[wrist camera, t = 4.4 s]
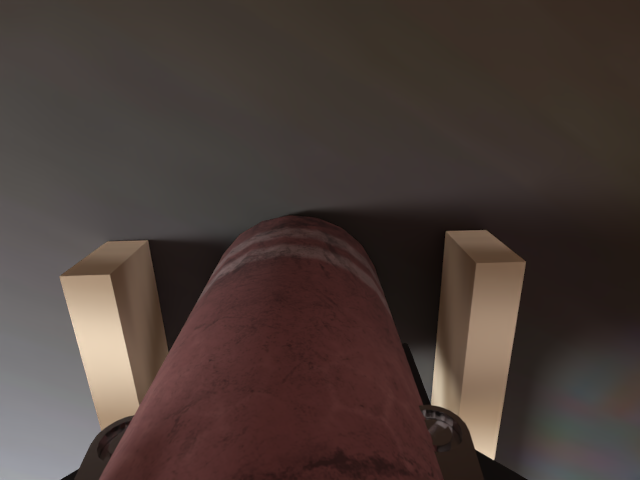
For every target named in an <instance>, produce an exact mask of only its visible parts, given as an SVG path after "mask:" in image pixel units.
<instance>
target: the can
mask: <svg viewBox="0 0 640 480" xmlns="http://www.w3.org/2000/svg"><path fill="white" fill-rule="evenodd" d="M419 405H423V403H422V400H421V397H420V395H419V392H418V389H417V386H416V383H415V380H414V378H413V375H412V372H411V369H410V366H409V363H408V361H407V358H406V355H405V352H404V349H403V346H402V344H401V341H400V338H399V335H398V332H397V329H396V326H395V324H394V321H393V318H392V315H391V312H390V309H389V307H388V304H387V301H386V298H385V295H384V292H383V290H382V287H381V284H380V281H379V278H378V275H377V273H376V270H375V267H374V265H373V263H372V261H371V260H370V258H369V256H368V255H367V253H366V251H365V250H364V248H363V246H362V245H361V244H360V243H359V242H358V241H357V240H356V239H354V238H353V237H352V236H351V235H350V234H348V233H347V232H346V231H345V230H344V229H343V228H341V227H339V226H336V225H334V224H331V223H329V222H326V221H324V220H321V219H319V218H316V217H304V216H292V215H288V216H284V217H279V218H275V219H270V220H266V221H262V222H260V223H259V224H257V225H255V226H254V227H252V228H250V229H248V230H247V231H245V232H243V233H242V234H240V235H239V236H238V237H237V238H236V240H235V241H234V242H233V243H232V244H231V245H230V247H229V248H228V249H227V250H226V251H225V252H224V254H223V255H222V257H221V259H220V261H219V263H218V265H217V266H216V268H215V270H214V272H213V274H212V275H211V277H210V279H209V281H208V283H207V284H206V286H205V288H204V290H203V292H202V293H201V295H200V297H199V299H198V301H197V303H196V304H195V306H194V308H193V310H192V312H191V313H190V315H189V317H188V319H187V321H186V322H185V324H184V326H183V328H182V330H181V331H180V333H179V335H178V337H177V339H176V341H175V342H174V344H173V346H172V348H171V350H170V351H169V353H168V355H167V357H166V359H165V360H164V362H163V364H162V366H161V368H160V369H159V371H158V373H157V375H156V377H155V379H154V380H153V382H152V384H151V386H150V388H149V389H148V391H147V393H146V395H145V397H144V398H143V400H142V402H141V404H140V406H139V407H138V409H137V411H136V413H135V415H134V417H133V418H132V420H131V422H130V424H129V426H128V427H127V429H126V431H125V433H124V435H123V436H122V438H121V440H120V442H119V444H118V445H117V447H116V449H115V451H114V453H113V455H112V456H111V458H110V460H109V462H108V464H107V465H106V467H105V469H104V471H103V473H102V474H101V476H100V478H99V480H444V479H443V476H442V473H441V470H440V467H439V464H438V461H437V458H436V455H435V452H434V451H436V450H435V448H434V446H433V444H432V442H433V440H432V437H431V435H430V432H429V431H428V430H427V427H426V424H425V421H424V420H425V419H426V418H425V417H424V415H423V414H422V412H421V411H420V408H419ZM436 452H437V451H436Z"/></svg>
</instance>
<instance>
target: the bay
mask: <svg viewBox="0 0 640 480" xmlns="http://www.w3.org/2000/svg"><path fill="white" fill-rule="evenodd" d="M525 265H526V261H524V260H523V259H522V258H521V257H519V256H518V255H517V254H516V253H514V252H513V251H512V250H511V249H509V248H508V247H507V246H506V245H504V244H503V243H502V242H501V241H499V240H498V239H497V238H496V237H494V236H493V235H492V234H491V233H489V232H488V231H487V230H467V231H446V234H445V246H444V257H443V269H442V281H441V293H440V305H439V317H438V329H437V341H436V352H435V364H434V376H433V388H432V400H431V405H433V406H440V407H442V408H445V409H447V410H450V411H452V412H453V413H455V414H456V415H458V416H459V417H460V418H461V419H462V420H463V421H464V422H465V423H466V425H467V427H468V429H469V431H470V434H471V438H472V441H473V444H474V448H475V450H477V451H479V452H481V453H482V454H484V455H486V456H487V457H489V458H491V459H493V460H494V458H495V452H496V446H497V440H498V433H499V427H500V421H501V415H502V408H503V402H504V396H505V390H506V384H507V377H508V371H509V365H510V359H511V352H512V346H513V340H514V334H515V327H516V321H517V315H518V309H519V302H520V296H521V290H522V284H523V278H524V271H525ZM60 280H61V284H62V287H63V291H64V295H65V298H66V302H67V306H68V309H69V313H70V317H71V320H72V324H73V328H74V331H75V335H76V339H77V342H78V346H79V350H80V353H81V357H82V361H83V365H84V368H85V372H86V376H87V379H88V383H89V387H90V390H91V394H92V398H93V401H94V405H95V409H96V412H97V416H98V420H99V423H100V427H101V431H102V430H103V429H104V428H106V427H107V426H109V425H110V424H112V423H113V422H115V421H118V420H120V419H122V418H125V417H128V416H133V415H135V413H136V411H137V409H138V407H139V406H140V404H141V402H142V400H143V398H144V397H145V395H146V393H147V391H148V389H149V388H150V386H151V384H152V382H153V380H154V379H155V377H156V375H157V373H158V371H159V369H160V368H161V366H162V364H163V362H164V360H165V359H166V357H167V355H168V353H169V352H168V346H167V341H166V335H165V330H164V324H163V319H162V314H161V308H160V303H159V297H158V292H157V286H156V281H155V275H154V270H153V264H152V259H151V253H150V248H149V243H148V240H140V241H107V242H106V243H105V244H103V245H102V246H100V247H99V248H98V249H96V250H95V251H94V252H92V253H91V254H89V255H88V256H87V257H85V258H84V259H83V260H81V261H80V262H78V263H77V264H76V265H74V266H73V267H72V268H70V269H69V270H67V271H66V272H65V273H63V274H62V275H61V276H60Z"/></svg>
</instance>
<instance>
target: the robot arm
mask: <svg viewBox="0 0 640 480" xmlns="http://www.w3.org/2000/svg"><path fill="white" fill-rule="evenodd" d="M402 346H403V349H404V352H405V355H406V358H407V361H408V363H409V366H410V369H411V372H412V375H413V378H414V380H415V383H416V386H417V389H418V392H419V395H420V397H421V400H422V403H423V405H419V408H420V411H421V412H422V414H423V415H424V417H425V418H426V419H425V420H424V421H425V424H426V427H427V430H428V431H429V432H430V435H431V437H432V440H433V442H432V444H433V446H434V448H435V450H436V451H437V452H436V451H434V452H435V455H436V458H437V461H438V464H439V467H440V470H441V473H442V476H443V479H444V480H527V479H526V478H524V477H522V476H520V475H519V474H517V473H515V472H513V471H512V470H510V469H508V468H506V467H505V466H503V465H501V464H500V463H498V462H496V461H494V460H493V459H491V458H489V457H487V456H486V455H484V454H482V453H481V452H479V451H477V450H475V448H474V444H473V441H472V438H471V434H470V431H469V429H468V427H467V425H466V423H465V422H464V421H463V420H462V419H461V418H460V417H459V416H458V415H456V414H455V413H453V412H452V411H450V410H447V409H445V408H442V407H440V406H433V405H431V404H430V401H429V399H428V396H427V393H426V391H425V388H424V386H423V383H422V380H421V378H420V375H419V372H418V370H417V367H416V364H415V362H414V359H413V356H412V354H411V351H410V348H409V346H408V344H406V343H404V344H402ZM133 417H134V415H133V416H128V417H125V418H122V419H120V420H118V421H115V422H113V423H112V424H110V425H109V426H107V427H106V428H104V429H103V430H102V431H101V432H100V433H99V434H98V435H97V436H96V437H95V439H94V440H93V442H92V443H91V445H90V447H89V449H88V451H87V453H86V455H85V457H84V460H83V462H82V464H81V466H80V468H79V469H78V470H76V471H75V472H73V473H71V474H69V475H68V476H66V477H64V478H63V479H61V480H99V478H100V476H101V474H102V473H103V471H104V469H105V467H106V465H107V464H108V462H109V460H110V458H111V456H112V455H113V453H114V451H115V449H116V447H117V445H118V444H119V442H120V440H121V438H122V436H123V435H124V433H125V431H126V429H127V427H128V426H129V424H130V422H131V420H132V418H133Z"/></svg>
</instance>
